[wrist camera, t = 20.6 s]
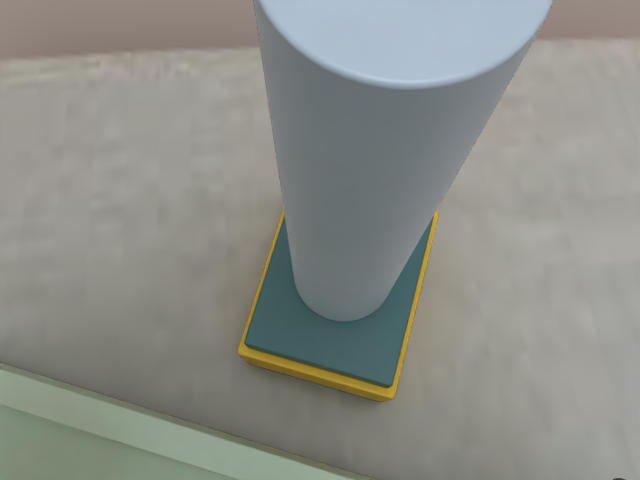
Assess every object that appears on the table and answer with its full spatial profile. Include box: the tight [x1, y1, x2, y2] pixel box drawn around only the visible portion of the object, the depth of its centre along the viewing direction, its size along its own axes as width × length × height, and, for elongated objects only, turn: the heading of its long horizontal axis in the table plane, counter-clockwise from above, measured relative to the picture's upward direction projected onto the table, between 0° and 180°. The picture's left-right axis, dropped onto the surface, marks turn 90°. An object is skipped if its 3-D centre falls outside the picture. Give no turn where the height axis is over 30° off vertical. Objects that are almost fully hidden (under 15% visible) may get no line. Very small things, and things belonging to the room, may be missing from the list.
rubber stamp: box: [238, 0, 553, 402], centre depth 11 cm, size 5×4×14 cm
